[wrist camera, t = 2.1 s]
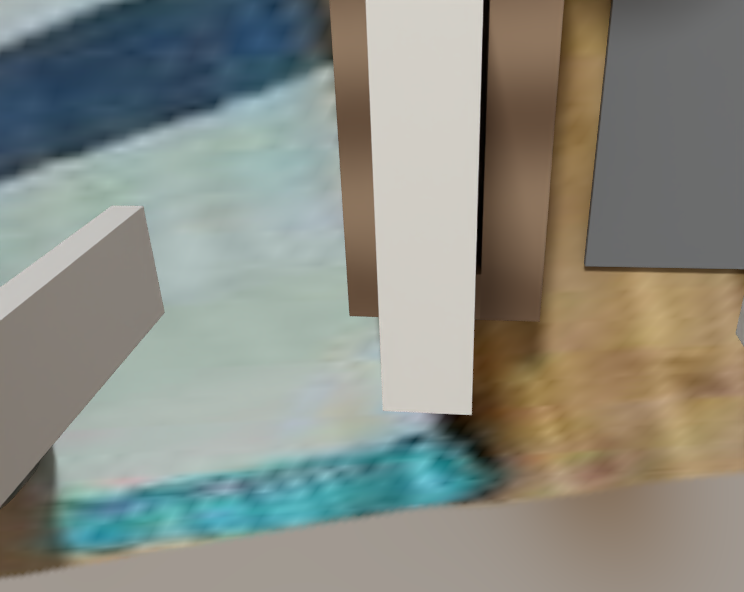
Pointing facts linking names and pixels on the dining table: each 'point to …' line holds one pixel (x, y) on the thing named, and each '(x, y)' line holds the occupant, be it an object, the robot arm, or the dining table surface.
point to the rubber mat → (670, 138)
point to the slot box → (496, 154)
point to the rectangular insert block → (425, 196)
